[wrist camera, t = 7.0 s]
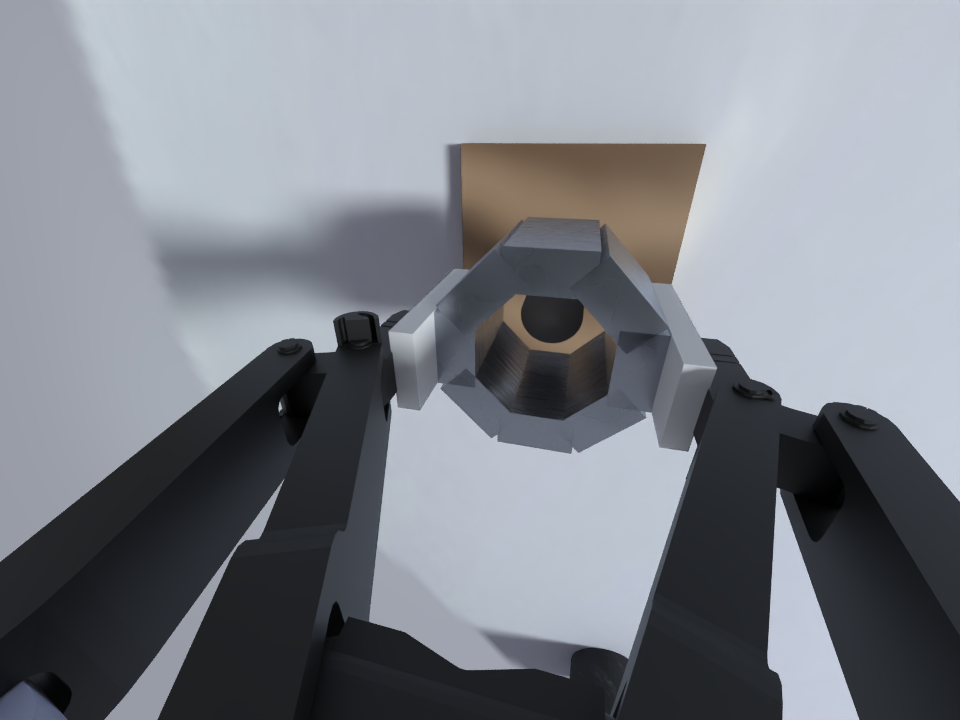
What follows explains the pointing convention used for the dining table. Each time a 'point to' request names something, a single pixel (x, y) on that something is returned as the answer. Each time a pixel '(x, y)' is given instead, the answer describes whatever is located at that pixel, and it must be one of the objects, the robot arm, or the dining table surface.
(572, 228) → the ring
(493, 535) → the dining table surface
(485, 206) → the shaft stand
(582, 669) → the travel mug
